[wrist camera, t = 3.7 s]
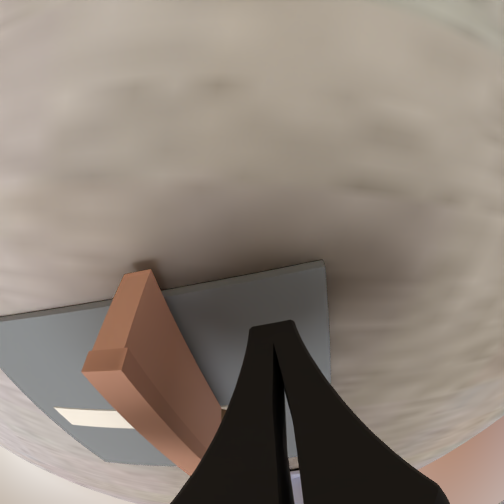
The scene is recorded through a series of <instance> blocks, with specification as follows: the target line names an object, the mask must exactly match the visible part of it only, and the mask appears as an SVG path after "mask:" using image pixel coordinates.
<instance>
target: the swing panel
mask: <svg viewBox="0 0 504 504" xmlns="http://www.w3.org/2000/svg"><path fill="white" fill-rule="evenodd" d="M81 372H82V374H83V375H84V376H85V377H86V378H87V379H88V381H89V382H90V383H91V384H92V385H93V386H94V387H95V389H96V390H97V391H98V392H99V393H100V394H101V395H102V396H103V397H104V398H105V399H106V401H107V402H108V403H109V404H110V405H111V406H112V407H113V408H114V409H115V410H116V411H117V412H118V413H119V414H120V415H121V416H122V417H123V418H124V419H125V420H126V421H127V422H128V423H129V424H130V425H131V426H132V427H133V428H134V429H135V430H136V431H138V432H139V433H140V434H141V435H142V436H143V437H144V438H145V439H146V440H147V441H148V442H150V443H151V444H152V445H153V446H154V447H155V448H156V449H158V450H159V451H160V452H161V453H162V454H163V455H165V456H166V457H167V458H168V459H169V460H171V461H172V462H173V463H174V464H176V465H177V466H178V467H179V468H181V469H182V470H183V471H184V472H186V473H187V474H188V475H190V476H191V475H192V474H193V472H194V471H195V469H196V467H197V466H198V464H199V463H200V461H201V459H202V458H203V456H204V454H205V452H206V451H207V449H208V447H209V445H210V444H211V442H212V440H213V438H214V436H215V434H216V432H217V430H218V428H219V426H220V424H221V406H220V404H219V403H218V401H217V399H216V397H215V396H214V394H213V392H212V390H211V389H210V387H209V385H208V383H207V381H206V380H205V378H204V376H203V374H202V372H201V370H200V369H199V367H198V365H197V363H196V361H195V359H194V357H193V355H192V353H191V352H190V350H189V348H188V346H187V344H186V342H185V340H184V338H183V336H182V334H181V332H180V330H179V328H178V326H177V324H176V322H175V320H174V318H173V316H172V314H171V312H170V309H169V307H168V305H167V303H166V301H165V299H164V297H163V295H162V292H161V290H160V288H159V286H158V284H157V281H156V279H155V277H154V275H153V272H152V270H151V269H148V270H143V271H138V272H133V273H128V274H124V276H123V278H122V280H121V283H120V285H119V287H118V289H117V291H116V294H115V296H114V298H113V300H112V303H111V305H110V307H109V310H108V312H107V314H106V317H105V319H104V322H103V324H102V327H101V329H100V331H99V334H98V336H97V339H96V342H95V344H94V347H93V349H92V351H89V352H88V355H87V357H86V360H85V363H84V365H83V368H82V371H81Z"/></svg>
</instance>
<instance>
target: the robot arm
mask: <svg viewBox="0 0 504 504" xmlns="http://www.w3.org/2000/svg"><path fill="white" fill-rule="evenodd" d="M285 394H286V398H287V402H288V405H289V409H290V413H291V417H292V421H293V427H294V434H295V441H296V449H297V456H298V463H299V470H297V471H291V472H290V468H289V461H288V451H287V431H286V409H285ZM170 504H450V503H449V501H448V499H447V497H446V495H445V494H444V492H443V491H442V489H441V488H440V486H439V485H438V484H437V483H435V482H434V481H432V480H431V479H429V478H428V477H426V476H425V475H423V474H422V473H421V472H419V471H418V470H417V469H415V468H414V467H412V466H411V465H410V464H409V463H407V462H406V461H405V460H403V459H402V458H401V457H400V456H398V455H397V454H396V453H395V452H394V451H393V450H391V449H390V448H389V447H388V446H387V445H386V444H385V443H384V442H383V441H381V440H380V439H379V438H378V437H377V436H376V435H375V434H374V433H373V432H372V431H371V430H370V429H369V428H368V427H367V426H366V425H365V424H364V423H363V422H362V421H361V420H360V419H359V418H358V417H357V416H356V415H355V414H354V413H353V411H352V410H351V409H350V408H349V407H348V406H347V405H346V403H345V402H344V401H343V400H342V399H341V397H340V396H339V395H338V394H337V392H336V391H335V390H334V388H333V387H332V386H331V384H330V383H329V382H328V380H327V379H326V378H325V376H324V375H323V373H322V372H321V370H320V369H319V367H318V366H317V364H316V363H315V361H314V360H313V358H312V357H311V355H310V353H309V352H308V350H307V348H306V346H305V344H304V343H303V341H302V339H301V337H300V334H299V332H298V330H297V327H296V325H295V321H293V320H291V319H290V320H285V321H280V322H275V323H270V324H264V325H259V326H253V327H251V328H250V329H249V335H248V342H247V347H246V352H245V356H244V360H243V364H242V367H241V370H240V374H239V377H238V380H237V383H236V386H235V389H234V392H233V395H232V397H231V400H230V402H229V405H228V407H227V410H226V412H225V415H224V417H223V419H222V422H221V424H220V426H219V428H218V430H217V432H216V434H215V436H214V438H213V440H212V442H211V444H210V445H209V447H208V449H207V451H206V452H205V454H204V456H203V458H202V459H201V461H200V463H199V464H198V466H197V467H196V469H195V471H194V472H193V474H192V475H191V476H190V478H189V479H188V481H187V482H186V483H185V485H184V486H183V488H182V489H181V490H180V492H179V493H178V495H177V496H176V497H175V498H174V500H173V501H172V502H171V503H170ZM499 504H504V501H502V502H501V503H499Z"/></svg>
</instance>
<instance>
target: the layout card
mask: <svg viewBox="0 0 504 504" xmlns="http://www.w3.org/2000/svg"><path fill="white" fill-rule="evenodd" d="M161 292H162V295H163V297H164V299H165V301H166V303H167V305H168V307H169V309H170V312H171V314H172V316H173V318H174V320H175V322H176V324H177V326H178V328H179V330H180V332H181V334H182V336H183V338H184V340H185V342H186V344H187V346H188V348H189V350H190V352H191V353H192V355H193V357H194V359H195V361H196V363H197V365H198V367H199V369H200V370H201V372H202V374H203V376H204V378H205V380H206V381H207V383H208V385H209V387H210V389H211V390H212V392H213V394H214V396H215V397H216V399H217V401H218V403H219V404H220V406H221V409H225V410H227V407H228V405H229V402H230V400H231V397H232V395H233V392H234V389H235V386H236V383H237V380H238V377H239V374H240V370H241V367H242V364H243V360H244V356H245V352H246V347H247V342H248V335H249V329H250V328H251V327H253V326H259V325H264V324H270V323H275V322H280V321H285V320H290V319H291V320H293V321H295V325H296V327H297V330H298V332H299V334H300V337H301V339H302V341H303V343H304V344H305V346H306V348H307V350H308V352H309V353H310V355H311V357H312V358H313V360H314V361H315V363H316V364H317V366H318V367H319V369H320V370H321V372H322V373H323V375H324V376H325V378H326V379H327V380H328V382H329V383H330V384H331V365H330V335H329V314H328V297H327V282H326V269H325V264H324V262H323V260H319V261H314V262H309V263H304V264H299V265H294V266H289V267H284V268H279V269H274V270H269V271H264V272H259V273H254V274H249V275H243V276H238V277H233V278H228V279H223V280H217V281H212V282H207V283H201V284H196V285H190V286H185V287H180V288H174V289H168V290H163V291H161ZM112 300H113V299H111V300H105V301H99V302H93V303H87V304H81V305H75V306H69V307H63V308H56V309H50V310H44V311H37V312H31V313H24V314H17V315H11V316H4V317H0V368H1V369H2V371H3V372H4V373H5V374H6V375H7V376H8V377H9V378H10V379H11V380H12V382H13V383H14V384H15V385H16V386H17V387H18V388H19V389H20V390H21V391H22V392H23V393H24V394H25V395H26V396H27V397H28V398H29V399H30V400H31V401H32V402H33V403H34V404H35V405H36V406H37V407H38V408H39V409H41V410H42V411H43V412H44V413H45V414H46V415H47V416H48V417H49V418H50V419H52V420H53V421H54V422H55V423H56V424H57V425H58V426H60V427H61V428H62V429H63V430H64V431H66V432H67V433H68V434H69V435H71V436H72V437H73V438H74V439H76V440H77V441H78V442H79V443H81V444H82V445H83V446H85V447H86V448H87V449H89V450H90V451H91V452H93V453H94V454H95V455H97V456H98V457H100V458H101V459H102V460H104V461H105V462H113V463H123V464H134V465H151V466H177V465H176V464H174V463H173V462H172V461H171V460H169V459H168V458H167V457H166V456H165V455H163V454H162V453H161V452H160V451H159V450H158V449H156V448H155V447H154V446H153V445H152V444H151V443H150V442H148V441H147V440H146V439H145V438H144V437H143V436H142V435H141V434H140V433H139V432H138V431H136V430H135V429H134V428H133V427H132V426H131V425H130V424H129V423H128V422H127V421H126V420H125V419H124V418H123V417H122V416H121V415H120V414H119V413H118V412H117V411H116V410H115V409H114V408H113V407H112V406H111V405H110V404H109V403H108V402H107V401H106V399H105V398H104V397H103V396H102V395H101V394H100V393H99V392H98V391H97V390H96V389H95V387H94V386H93V385H92V384H91V383H90V382H89V381H88V379H87V378H86V377H85V376H84V375H83V374H82V372H81V371H82V368H83V365H84V363H85V360H86V357H87V355H88V352H89V351H92V349H93V347H94V344H95V342H96V339H97V336H98V334H99V331H100V329H101V327H102V324H103V322H104V319H105V317H106V314H107V312H108V310H109V307H110V305H111V303H112ZM285 409H286V431H287V451H288V458H291V457H297V449H296V441H295V434H294V427H293V421H292V417H291V413H290V409H289V405H288V402H287V398H286V394H285Z"/></svg>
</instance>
